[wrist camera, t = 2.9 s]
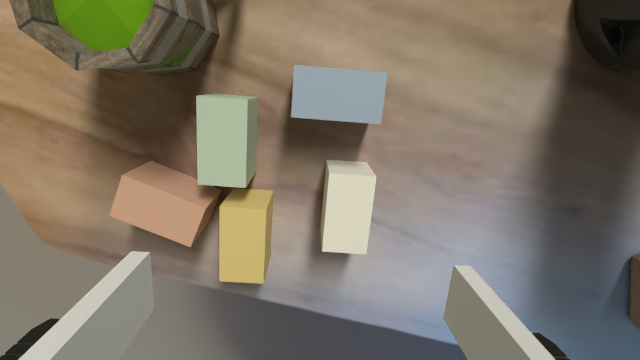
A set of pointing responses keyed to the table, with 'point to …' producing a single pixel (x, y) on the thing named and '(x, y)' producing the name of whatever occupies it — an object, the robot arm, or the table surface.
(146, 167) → the terracotta brick
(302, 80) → the slate brick
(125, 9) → the mug
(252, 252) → the ochre brick
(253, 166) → the sage brick
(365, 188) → the cream brick
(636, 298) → the wooden block
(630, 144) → the table surface
